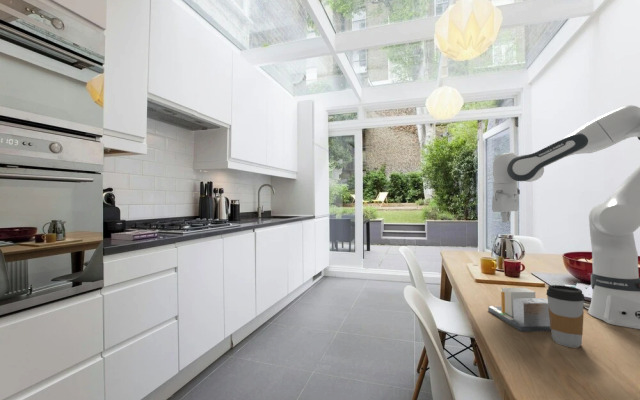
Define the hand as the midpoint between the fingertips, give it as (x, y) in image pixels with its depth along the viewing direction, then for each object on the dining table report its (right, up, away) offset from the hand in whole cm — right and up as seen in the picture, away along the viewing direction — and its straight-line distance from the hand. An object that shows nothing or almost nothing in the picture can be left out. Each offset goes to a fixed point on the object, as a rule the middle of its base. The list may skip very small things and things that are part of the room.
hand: (506, 222), depth 130 cm
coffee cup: (-13, -30, -47) cm, 57 cm away
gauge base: (-14, -31, -30) cm, 45 cm away
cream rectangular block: (-15, -29, -29) cm, 43 cm away
